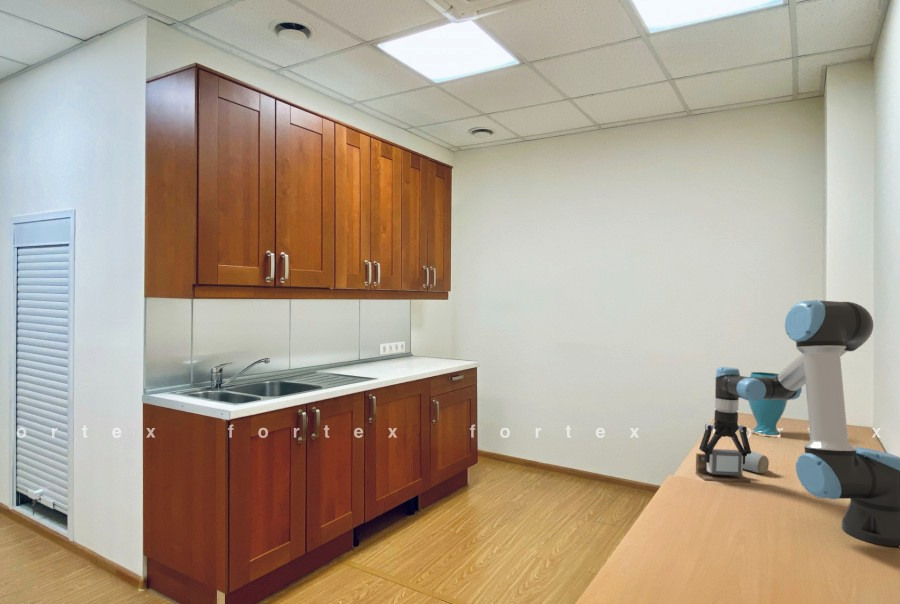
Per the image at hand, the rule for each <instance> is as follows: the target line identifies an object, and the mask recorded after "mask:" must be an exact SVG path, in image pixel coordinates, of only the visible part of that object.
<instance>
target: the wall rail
mask: <svg viewBox="0 0 900 604" xmlns="http://www.w3.org/2000/svg"><path fill="white" fill-rule="evenodd" d="M695 455H696V456H695V461H696V462H695V475H697V476H698V477H700V478H701V479H702V480H703V481H708V482H709V481H710V482H731V483H733V482H736V483H751V479H749V478H747V477H746V476H744V475H743V471H742V474H741V475H718V474H712V473H710V472H708V471H707V462H705V453H698V452H697V453H696V454H695Z"/></svg>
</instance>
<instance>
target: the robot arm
mask: <svg viewBox="0 0 900 604" xmlns="http://www.w3.org/2000/svg"><path fill="white" fill-rule="evenodd" d="M873 329H874V320H873V316H872V315H871V313H870V312H869V310H868V309H867V308H865V307H864V306H862V305H860V304H858V303H855V302H851V301H835V300H834V301H833V300H832V301H831V300H818V299H816V300H801V301H799V302H797V303H795V304H794V305H793V306H792V307H791V308H790V310H789V311H788V312H787V314H786V316H785V319H784V330H785V333H786V335H787V336H788V338H789V339H791V340H792V341H793V342H795V345H796V350H798V351H799V352H801V353H800V354H799V356H797V357H796V358H795V359H793V361H792V362H790V363H789V364H788V365H787V366H786V367H785V368H783V369H782V370H781V371H780V372H779V373H777V374H778V375H776V376H775V377H750V376H743V375H741V373H740V370H739V368H736V367H727V366H720V367H717V368H716V374H715V375H716V376H715V378H714V380H715V388H714V389H715V390H714V391H715V394H714V395H715V396H714V398H715V399H714V408H715V410H714V423H713V424H709V423H706V424H705V425H704V427H705V428H704V429H705V430H704V432H703V435H702V436H703V437H702V440H701V443H700V445H699V448H698V450H699V451H701V452H703V454H705V462H707V471H708V472H710V473H712V457H713V455H712V454H711V452H712V450H713V449H715V447H716V446H717V444H718V442H719V440H720V439H722V437H724V438H725V437H728V438H731V440H732V442H733V443H734V445H735V447H736V450H737V451H739V452H741V453H742V465H741V474H742V475H743V472H742V471H743V470H744V469H743V464H745V456H747V454H751V451H752V450H751V447H750V441H749V439H748V435H747V431H748V430H747V429H748V427H747V426H744V425H738V424H739V412H738V411H739V400H740V399H743V400H745V401H748V402H749V401H759V400H761V399H774V400H787V401H790V400H796V399H798V398H799V397H801V394H802V391H803V389H802V388H803V387H804V385H805V391H806V402H807V403H806V404H807V413H808V414H807V415H808V427H809V440H808V442H806V443H805V444H804V453H803V454H801V455H800V456H798V458H797V459H796V462H795V471H796V475H797V479H798V480H799V482H800V485H802V486H803V487H804V489H805V490H806V491H807V492H808V493H809V494H811V495H812V496H814V497H817V498H820V499H827V500H828V499H830V500H839V499H843V500H844V499H846V500H847V499H850V500H849V501H850V502H849V504H848V506H847V508H846V510H845V513H844V516H843V517H842V520H841V529H842V530H843V532H845V533H846V534H848V535H850V536H852V537H855V538H856V539H859V540H862V541H865V542H868V543H872V544H874V545H875V544H876V545H879V546H886V547H893V546H894V547H895V546H900V456H898V455H895V454H892V453H888V452H886V451H880V450H876V449H873V448H872V449H871V448H867V447H862V446H860V447H859V446H853V445H852V444H851V443H850V442H849V438H848V425H847V415H846V406H845V404H846V403H845V394H844V393H845V392H844V384H843V382H844V381H843V375H842V374H843V371H842V363H841V362H842V361H841V357H842V356H843V355H844V354H846V353H847V352H854V351H856V350H857V349H859V348H860V347H862V345H864V344H865V343H866V342H867V341H868V340H869V338H870V337H871V335H872V334H873ZM713 430H715V431H714V433H713V435H712V431H713ZM737 431H738V432H739V435H740V439H741V442H740V440H739V437H738V435H737ZM711 435H712V437H711ZM710 438H711V439H710ZM741 443H742V444H741ZM894 547H893V548H894ZM895 548H896V547H895Z"/></svg>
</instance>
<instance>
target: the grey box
mask: <svg viewBox="0 0 900 604" xmlns="http://www.w3.org/2000/svg"><path fill="white" fill-rule="evenodd" d="M711 454H712V455H713V457H712V474H718V475H741V465H742V453H741V452H739V451H738V449H723V448H722V449H721V448H719V449H717V448H713V450H712V452H711Z"/></svg>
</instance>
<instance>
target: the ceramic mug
mask: <svg viewBox="0 0 900 604" xmlns="http://www.w3.org/2000/svg"><path fill="white" fill-rule="evenodd" d="M769 464H770V462H769V459H768V457H767V456H766V455H765V454H762V453H760V452H756V451H753V450H751V454H747V456H745V464H743V470H745V471H748V472H753V473H756V474H760V475H761V474H765V473H766V472H767V471H768V470H769Z"/></svg>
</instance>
